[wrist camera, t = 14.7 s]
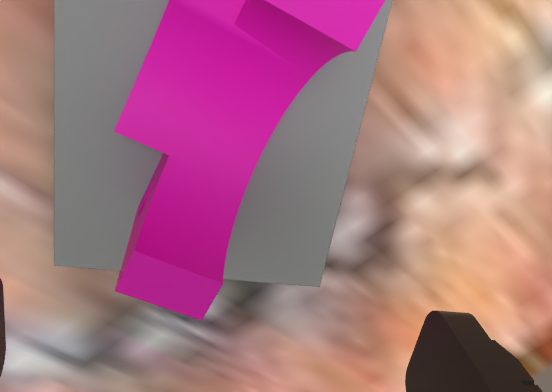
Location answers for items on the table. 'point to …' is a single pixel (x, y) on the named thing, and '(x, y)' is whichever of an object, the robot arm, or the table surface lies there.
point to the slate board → (143, 160)
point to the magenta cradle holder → (217, 127)
